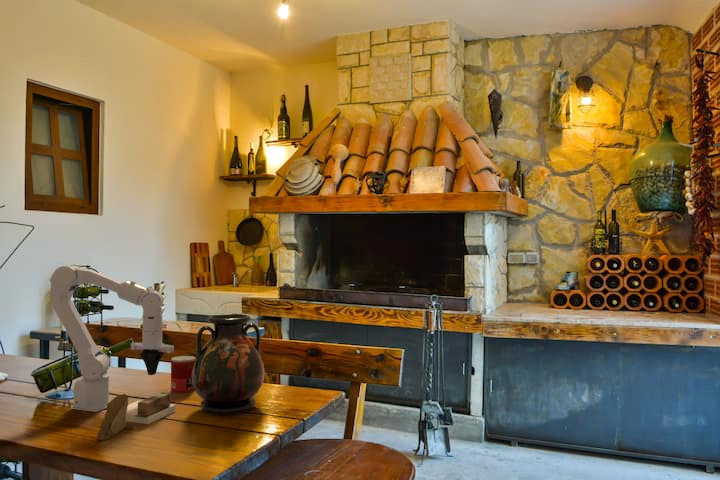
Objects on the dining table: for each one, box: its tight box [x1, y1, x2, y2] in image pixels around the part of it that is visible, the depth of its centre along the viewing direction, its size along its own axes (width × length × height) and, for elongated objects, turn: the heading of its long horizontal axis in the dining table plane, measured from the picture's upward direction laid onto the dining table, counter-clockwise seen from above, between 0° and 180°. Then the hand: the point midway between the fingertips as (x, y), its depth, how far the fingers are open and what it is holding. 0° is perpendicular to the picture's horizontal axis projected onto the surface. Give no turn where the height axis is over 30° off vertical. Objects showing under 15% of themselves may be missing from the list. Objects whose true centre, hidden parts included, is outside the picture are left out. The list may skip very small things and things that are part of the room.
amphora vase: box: [192, 313, 265, 416], centre depth 165 cm, size 22×22×28 cm
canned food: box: [170, 355, 196, 394], centre depth 184 cm, size 8×8×11 cm
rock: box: [95, 393, 129, 441], centre depth 142 cm, size 11×9×10 cm
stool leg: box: [138, 391, 172, 416], centre depth 156 cm, size 12×3×4 cm, turn 164°
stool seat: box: [126, 399, 176, 425], centre depth 157 cm, size 13×13×2 cm
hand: (151, 374), depth 168 cm, fingers closed
